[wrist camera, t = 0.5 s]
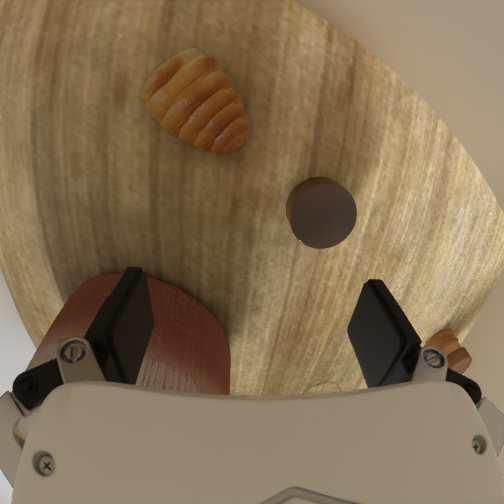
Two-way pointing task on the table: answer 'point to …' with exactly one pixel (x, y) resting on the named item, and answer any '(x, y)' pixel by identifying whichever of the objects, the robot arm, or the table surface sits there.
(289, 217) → the walnut chip
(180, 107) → the pastry
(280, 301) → the table surface
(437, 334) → the chip pile
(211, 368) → the planter
